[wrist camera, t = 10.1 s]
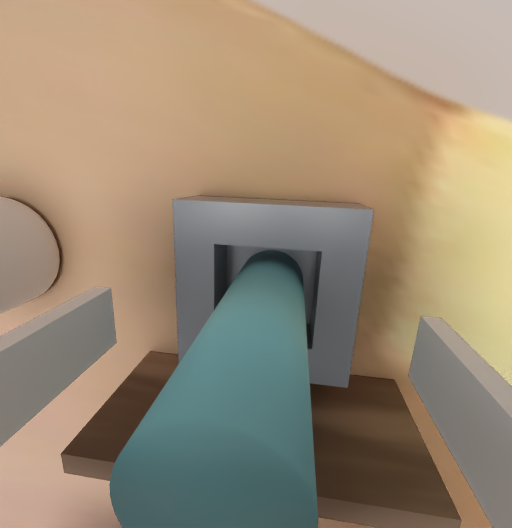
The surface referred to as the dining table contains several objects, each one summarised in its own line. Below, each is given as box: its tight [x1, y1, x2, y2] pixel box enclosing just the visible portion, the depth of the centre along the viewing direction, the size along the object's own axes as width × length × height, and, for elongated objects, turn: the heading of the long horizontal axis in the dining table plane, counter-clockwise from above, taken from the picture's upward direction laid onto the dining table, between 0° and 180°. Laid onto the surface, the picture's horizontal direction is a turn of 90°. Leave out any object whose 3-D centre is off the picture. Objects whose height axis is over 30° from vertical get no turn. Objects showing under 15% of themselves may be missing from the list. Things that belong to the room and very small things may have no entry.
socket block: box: [173, 196, 374, 388], centre depth 18 cm, size 10×10×4 cm
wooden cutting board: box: [61, 352, 461, 528], centre depth 18 cm, size 1×18×9 cm, turn 88°
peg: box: [110, 250, 318, 528], centre depth 12 cm, size 4×4×14 cm
